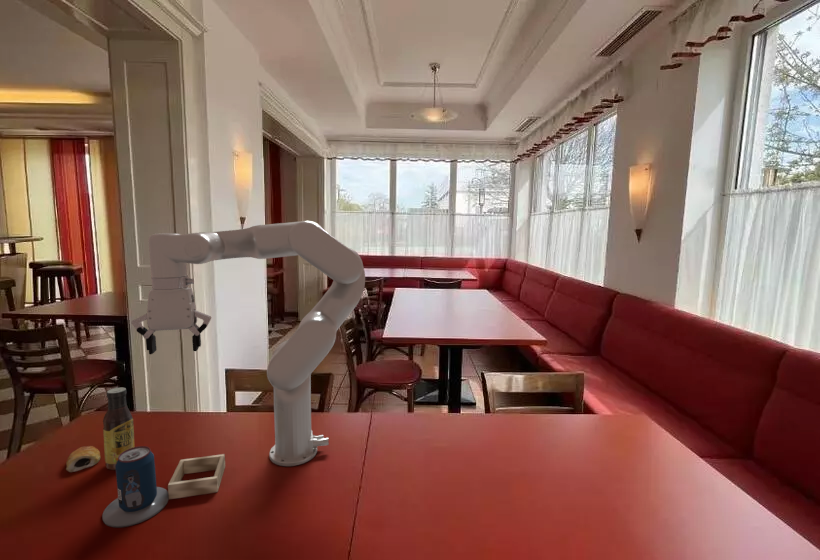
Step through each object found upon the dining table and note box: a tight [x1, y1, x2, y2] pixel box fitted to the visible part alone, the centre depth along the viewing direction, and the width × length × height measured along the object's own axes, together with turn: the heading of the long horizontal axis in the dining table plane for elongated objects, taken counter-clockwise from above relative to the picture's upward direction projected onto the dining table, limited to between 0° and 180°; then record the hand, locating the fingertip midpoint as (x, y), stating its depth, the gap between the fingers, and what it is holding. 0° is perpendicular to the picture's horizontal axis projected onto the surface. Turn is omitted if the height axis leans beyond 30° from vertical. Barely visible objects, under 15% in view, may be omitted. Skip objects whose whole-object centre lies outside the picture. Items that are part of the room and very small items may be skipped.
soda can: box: [115, 445, 158, 513], centre depth 86 cm, size 7×7×12 cm
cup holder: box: [167, 453, 226, 500], centre depth 95 cm, size 10×10×4 cm
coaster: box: [101, 486, 170, 529], centre depth 87 cm, size 12×12×1 cm
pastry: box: [65, 445, 102, 473], centre depth 103 cm, size 9×7×4 cm
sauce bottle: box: [102, 386, 136, 471], centre depth 101 cm, size 6×6×20 cm
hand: (174, 351), depth 99 cm, fingers open, 9 cm apart
